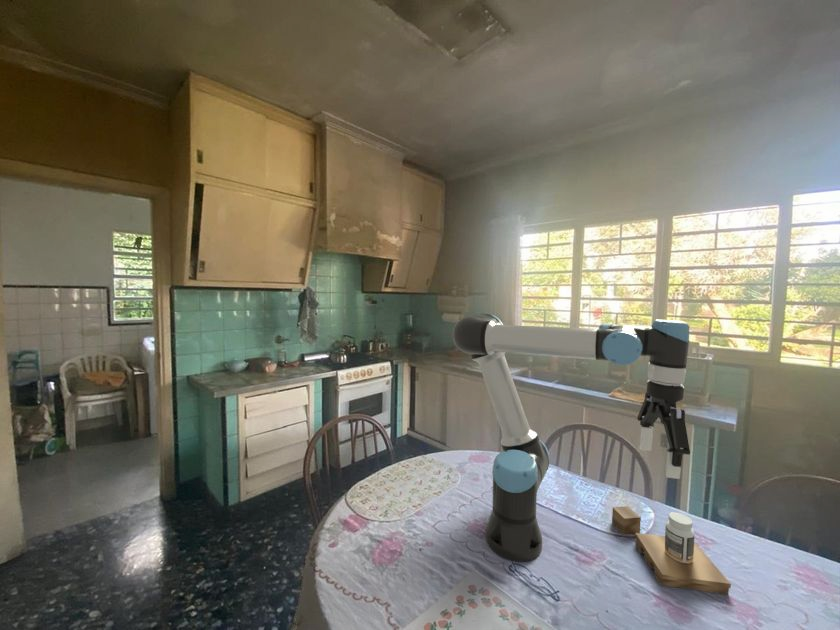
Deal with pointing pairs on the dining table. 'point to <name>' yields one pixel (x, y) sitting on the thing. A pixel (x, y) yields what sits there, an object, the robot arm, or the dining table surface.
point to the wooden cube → (626, 520)
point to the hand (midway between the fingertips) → (657, 462)
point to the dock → (681, 567)
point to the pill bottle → (679, 538)
